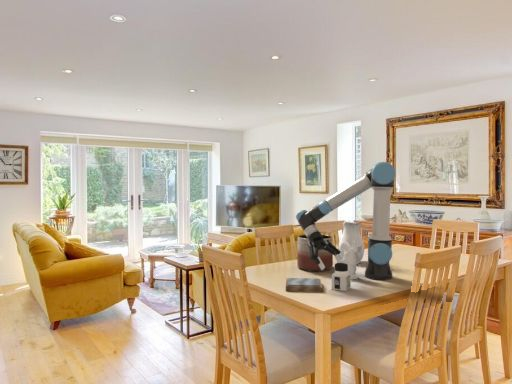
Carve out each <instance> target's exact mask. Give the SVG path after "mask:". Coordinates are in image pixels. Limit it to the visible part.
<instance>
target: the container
mask: <svg viewBox="0 0 512 384" xmlns="http://www.w3.org/2000/svg"><path fill="white" fill-rule="evenodd" d="M347 272H348V265H347V264H346V263H338V262H336V263H335V264H334V272H333V273H332V274H331V290H333V291H341V292H347V291H348V290H349V289H351V284H352V283H351V273H347Z"/></svg>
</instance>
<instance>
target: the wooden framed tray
mask: <svg viewBox="0 0 512 384" xmlns="http://www.w3.org/2000/svg"><path fill="white" fill-rule="evenodd" d="M285 292H301V293H302V292H306V293H312V292H313V293H314V292H315V293H323V285H322V282H321V278H318V277H317V278H315V277H313V278H312V277H311V278H310V277H308V278H307V277H288V278H286V280H285Z"/></svg>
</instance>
